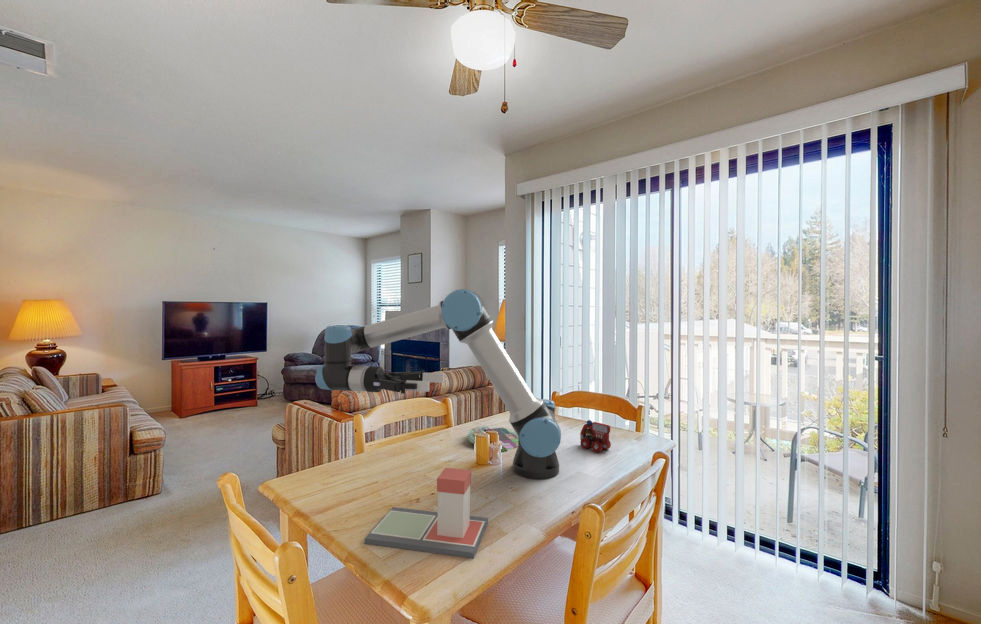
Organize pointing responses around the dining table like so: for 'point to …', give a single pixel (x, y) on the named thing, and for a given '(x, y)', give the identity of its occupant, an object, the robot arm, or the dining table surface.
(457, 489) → the block
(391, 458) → the dining table surface
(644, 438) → the dining table surface
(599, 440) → the toy fire truck
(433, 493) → the dining table surface
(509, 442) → the city model
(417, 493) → the dining table surface
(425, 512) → the grey flat board
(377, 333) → the robot arm
